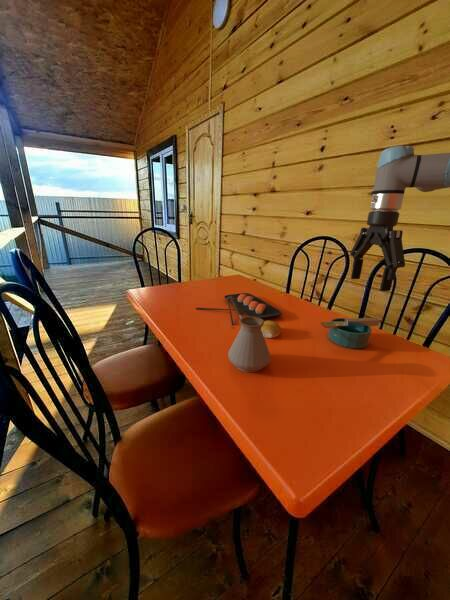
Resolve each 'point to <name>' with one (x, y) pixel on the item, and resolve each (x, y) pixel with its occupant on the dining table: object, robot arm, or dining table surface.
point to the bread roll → (270, 329)
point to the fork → (352, 323)
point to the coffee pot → (249, 344)
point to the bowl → (350, 335)
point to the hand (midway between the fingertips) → (368, 284)
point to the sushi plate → (250, 306)
